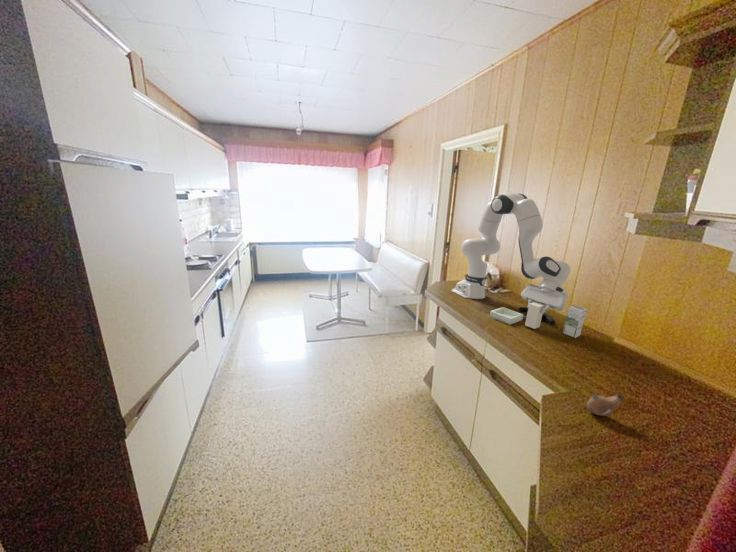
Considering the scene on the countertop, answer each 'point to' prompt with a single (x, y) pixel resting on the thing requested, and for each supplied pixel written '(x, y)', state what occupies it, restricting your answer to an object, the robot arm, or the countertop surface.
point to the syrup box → (574, 321)
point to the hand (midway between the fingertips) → (535, 310)
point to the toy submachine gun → (544, 316)
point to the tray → (506, 315)
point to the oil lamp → (603, 404)
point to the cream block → (534, 315)
